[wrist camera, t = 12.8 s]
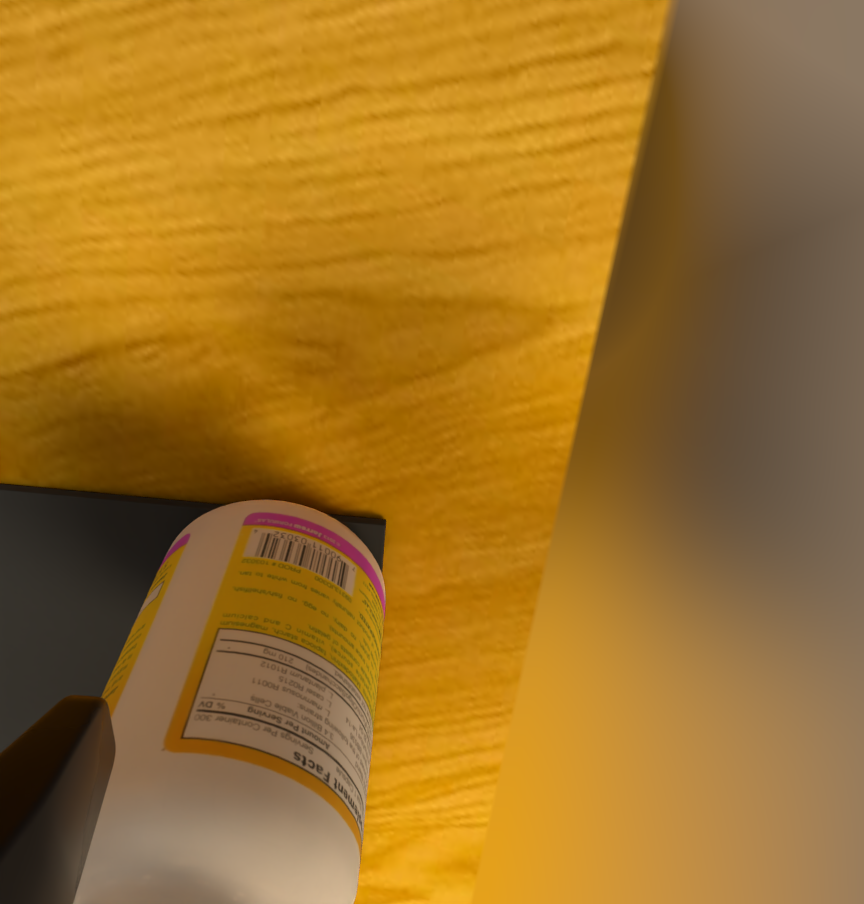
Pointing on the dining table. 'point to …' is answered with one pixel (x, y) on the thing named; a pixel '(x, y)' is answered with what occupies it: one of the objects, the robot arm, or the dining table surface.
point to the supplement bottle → (244, 717)
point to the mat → (84, 588)
